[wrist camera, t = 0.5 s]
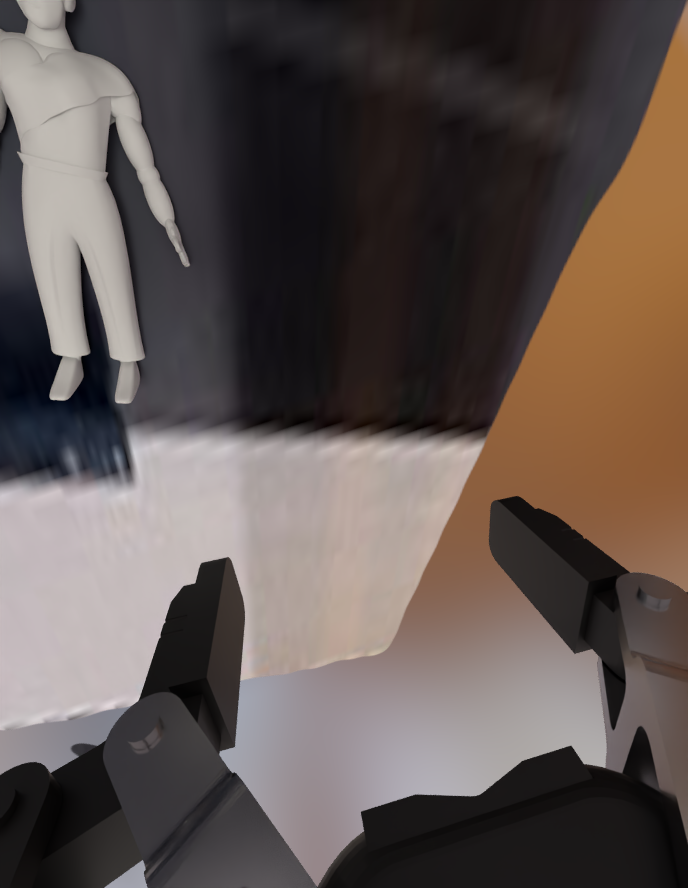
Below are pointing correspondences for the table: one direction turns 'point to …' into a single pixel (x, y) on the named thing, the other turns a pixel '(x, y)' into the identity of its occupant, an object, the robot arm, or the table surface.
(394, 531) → the table surface
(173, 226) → the figurine
